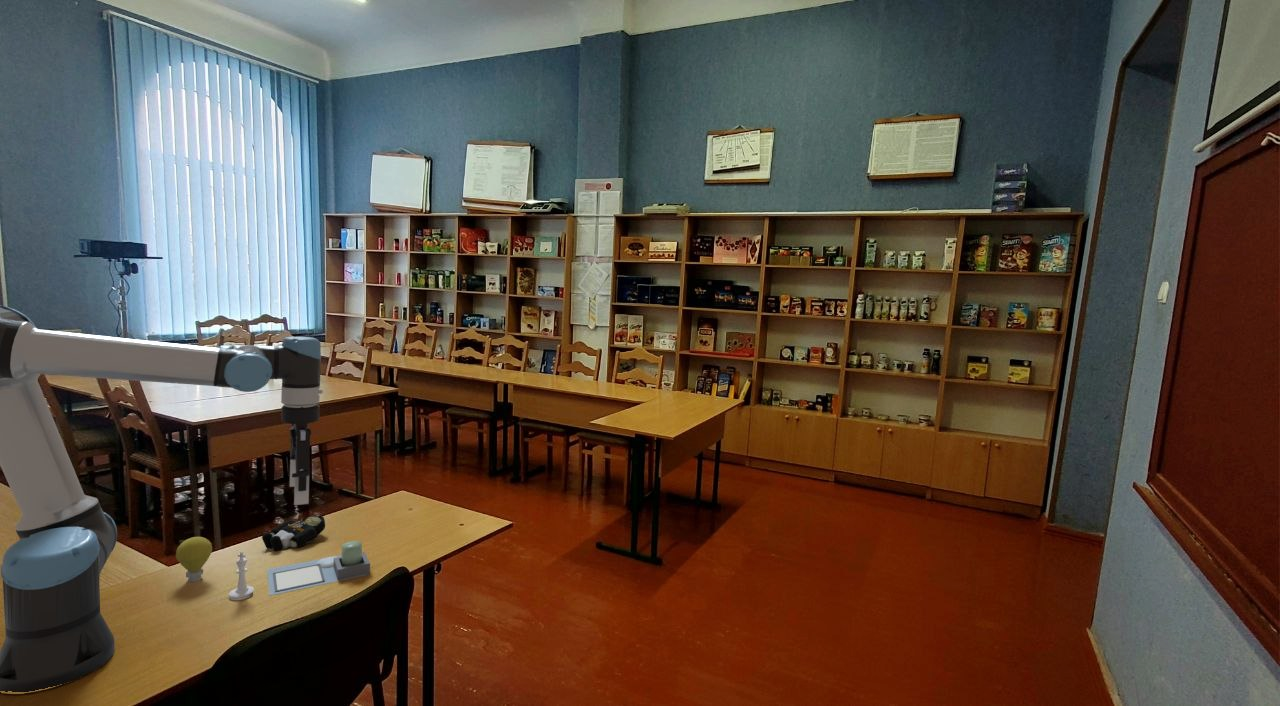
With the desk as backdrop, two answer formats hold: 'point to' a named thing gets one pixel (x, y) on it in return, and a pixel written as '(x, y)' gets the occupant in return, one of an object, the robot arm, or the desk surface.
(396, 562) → the desk surface
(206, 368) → the robot arm
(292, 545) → the toy
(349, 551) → the button
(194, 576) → the light bulb
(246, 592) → the chess piece
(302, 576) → the board
